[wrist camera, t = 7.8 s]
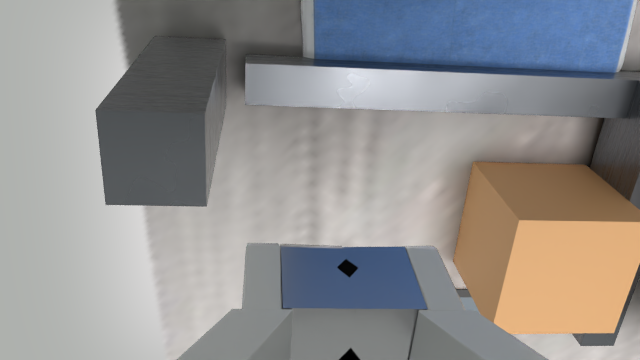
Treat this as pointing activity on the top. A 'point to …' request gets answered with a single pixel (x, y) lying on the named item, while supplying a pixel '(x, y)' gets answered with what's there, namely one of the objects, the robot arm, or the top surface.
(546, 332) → the orange block
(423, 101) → the grey u-shaped bracket
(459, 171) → the top surface
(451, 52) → the blue flat slab
